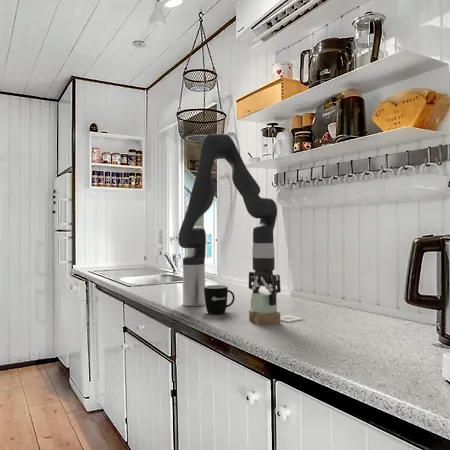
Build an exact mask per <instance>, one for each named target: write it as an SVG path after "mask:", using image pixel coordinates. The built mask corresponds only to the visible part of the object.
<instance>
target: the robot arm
mask: <svg viewBox="0 0 450 450" xmlns="http://www.w3.org/2000/svg"><path fill="white" fill-rule="evenodd" d="M220 159H221V160H223V159H224V160H225V161H227V163H228V164H229V165H230V168H231V180H232V183H233V184H234V185H233V186H234V187H235V188H236V190H237V191H238V193H239V195H240V196H241V197H242V200H243V203H244V206H245V208H246V211H247V213H248V214H249V215H250V216H251V217H252V218H254V219H259V222H258V225H256V226H255V227H253V230H252V270H253V271H250V272H248V289H250V290H251V291H252V294H253V293H260V289H261V287H265V289H266V290H267V292H268V293H269V294H270V295H269V305H270V306H274V305H275V304H276V294H279V293H281V292H282V289H281V279H280V278H281V276H280V274H274V272H273V271H274V270H276V269H275V268H276V266H275V265H276V264H275V263H276V261H275V260H276V259H275V257H276V256H275V245H274V243H275V241H274V230H275V225H276V223H277V222H276V221H277V217H278V216H277V215H278V206H277V204H276V201H274V199H272V198H268V197H261V196H260V193H261V187H260V185H259V184H258V181H256V180H255V178H254V177H253V175H252V174H251V173H250V171H249V169H248V168H247V166H246V164H245V162H244V160H243V158H242V156H241V154H240V152H239V149H238V147H237V146H236V144H235V142H234V140H233V139H232V137H231V136H230V135H228V134H226V133H225V134H224V133H211V134H209V133H208V134H207V135H205V137H204V138H203V140H202V143H201V146H200V152H199V158H198V165H197V166H198V167H197V171H196V173H195V178H194V182H193V185H192V188H191V192H190V197H189V199H188V200H189V201H188V205H187V208H186V211H185V215H184V218H183V220H182V223H181V226H180V229H179V232H178V237H177V238H178V239H177V240H178V245H179V246H180V248H182V249H193V251H192V253H190V254H189V255H187V256H186V255H185V256H184V257H183V259H182V274H183V275H182V278H183V280H182V304H183V306H184V307H202V306H206V305H205V296H204V287H205V286H206V277H205V276H206V268H205V267H206V266H205V263H206V262H205V259H206V253H207V252H206V246H207V243H206V242H207V233H206V230H205V228H204V227H203V226H199V225H197V226H196V223H197V222H198V220H199V219H201V217H202V216H203V215H204V214H205V213H207V212H208V211H209V209H210V208H211V207H212V205H213V202H214V199H215V196H216V189H217V188H216V184H215V181H214V177H213V172H212V171H213V170H212V169H213V166H214V163H215V160H220Z"/></svg>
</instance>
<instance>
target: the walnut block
mask: <svg viewBox="0 0 450 450" xmlns="http://www.w3.org/2000/svg"><path fill="white" fill-rule="evenodd" d="M280 317H281V312H280V311H277V312H272V313H266V314H261V313H258V312H254V311H252V310H251V309H249V310H248V318H249V319H248V320H249V322H250V323H252V324H255V325H256V326H259V327H261V326H268V325H269V326H270V325H272V326H273V325H280V324H281V321H280Z"/></svg>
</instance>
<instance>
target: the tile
mask: <svg viewBox="0 0 450 450" xmlns="http://www.w3.org/2000/svg"><path fill="white" fill-rule="evenodd" d="M302 320H303V318H302V317H298V316H294V315H290V314H288V315H287V314H286V315H282V316H281V315H280V322H283V323H292V322H293V323H294V322H298V321H302Z"/></svg>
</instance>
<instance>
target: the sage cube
mask: <svg viewBox="0 0 450 450" xmlns="http://www.w3.org/2000/svg"><path fill="white" fill-rule="evenodd" d="M277 294H278V293H277ZM277 294H276V304H275V305H274V306H270V305H269V295H270V294H269V291H263V292H259V293H253V292H252V293H251V298H252V311H254V312H258V313H261V314H266V313H272V312H278V308H277V307H278V303H277V301H278V299H277V298H278V297H277Z"/></svg>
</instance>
